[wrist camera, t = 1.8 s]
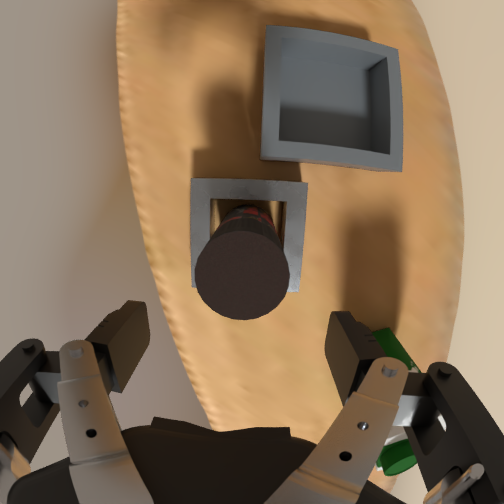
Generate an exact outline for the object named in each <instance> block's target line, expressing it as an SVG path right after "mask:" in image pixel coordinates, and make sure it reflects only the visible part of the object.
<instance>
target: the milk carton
mask: <svg viewBox="0 0 504 504" xmlns="http://www.w3.org/2000/svg"><path fill="white" fill-rule="evenodd" d="M372 334H373V336H374V337H375V338H376V341H378V343H379V344H380V346H381V347H382V349H383V350H384V352H385V354H386V355H387V357H391V358H395V359H398V360H400V361H401V362H403V363H404V364H405V365H406V366H407V368H408V371H409V372H416V373H422V372H421V371H420V370H419V368H418V367H417V365H416V364H415V363H414V361H413V360H412V359H411V357H410V356H409V355H408V353H407V352H406V350H405V349H404V348H403V346H402V345H401V343H400V342H399V341H398V339H397V338H396V337H395V335H394V334H393V333H392V331H391V330H390V328H385V329H382V330H379V331H376V332H372ZM438 419H439V421H440V423H441V425H442V426H443V428H444V430H445V428H446V423H445V421H444V419H443V417H442V415H441V414H440V415H439V417H438ZM415 464H417V460H416V458H415V455H414V453H413V450H412V448H411V445H410V442H409V440H408V437H407V435H406V433H405V430H404V428H403V426H393V425H392V427H391V430H390V432H389V435H388V437H387V440H386V442H385V444H384V446H383V449H382V451H381V453H380V455H379V457H378V459H377V461H376V464H375V467H376V470H377V471H380V470H383V472H384V475H386V476H394V475H397V474H400V473H402V472H404V471H406V470H408V469H410V468H411V467H413V466H414V465H415Z"/></svg>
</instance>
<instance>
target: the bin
mask: <svg viewBox="0 0 504 504" xmlns="http://www.w3.org/2000/svg"><path fill="white" fill-rule="evenodd" d="M260 160H273V161H288V162H301V163H313V164H323V165H332V166H341V167H349V168H357V169H364V170H371V171H378V172H402V163H403V103H402V86H401V73H400V63H399V55H398V49H395V48H392V47H389V46H386V45H382V44H379V43H375V42H371V41H368V40H364V39H360V38H355V37H351V36H347V35H342V34H337V33H331V32H326V31H320V30H313V29H306V28H297V27H288V26H275V25H266V34H265V47H264V72H263V97H262V121H261V145H260Z"/></svg>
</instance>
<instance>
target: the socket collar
mask: <svg viewBox="0 0 504 504" xmlns="http://www.w3.org/2000/svg"><path fill="white" fill-rule="evenodd" d="M307 191H308V183H305V182H295V181H279V180H260V179H233V178H191V277H192V287H195V288H197V287H196V284H195V271H194V269H195V266H196V262H197V258H198V257H199V255H200V253H201V252H202V250H203V248H204V247H205V245H206V244H207V243H208V241H209V240H210V238H211V237H212V235H213V234H214V230H215V199H246V200H269V201H283V214H282V230H281V245H282V248H283V251H284V253H285V256H286V259H287V262H288V266H289V272H290V280H289V287H288V290H287V292H299V285H300V275H301V265H302V255H303V244H304V232H305V220H306V206H307Z"/></svg>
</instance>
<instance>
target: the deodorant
mask: <svg viewBox="0 0 504 504" xmlns="http://www.w3.org/2000/svg"><path fill="white" fill-rule="evenodd" d="M194 271H195V284H196V287H197V291H198V293H199V295H200V296H201V298H202V300H203V301H204V302H205V303H206V304H207V305H208V306H209V307H210V308H211V309H212V310H213V311H215V312H217V313H218V314H220V315H222V316H224V317H228V318H231V319H236V320H249V319H255V318H259V317H261V316H263V315H266V314H268V313H269V312H271V311H272V310H273V309H275V308H276V307H277V306H278V305H279V304H280V302H281V301H282V300H283V298H284V297H285V295H286V292H287V290H288V287H289V280H290V272H289V266H288V262H287V259H286V256H285V253H284V251H283V248H282V245H281V243H280V240H279V237H278V235H277V232H276V229H275V226H274V224H273V221H272V219H271V217H270V216H269V214H268V213H267V212H266V211H265V210H263V209H262V208H260V207H258V206H255V205H247V204H245V205H241V206H238V207H236V208H234V209H232V210H231V211H230V212H229V213H228V214H227V215H226V217H225V218H224V220H223V221H222V222H221V224H220V225H219V227H218V228H217V230H216V231H215V232H214V234H213V235H212V237H211V238H210V240H209V241H208V243H207V244H206V245H205V247H204V248H203V250H202V252H201V253H200V255H199V257H198V258H197V262H196V266H195V269H194Z"/></svg>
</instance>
